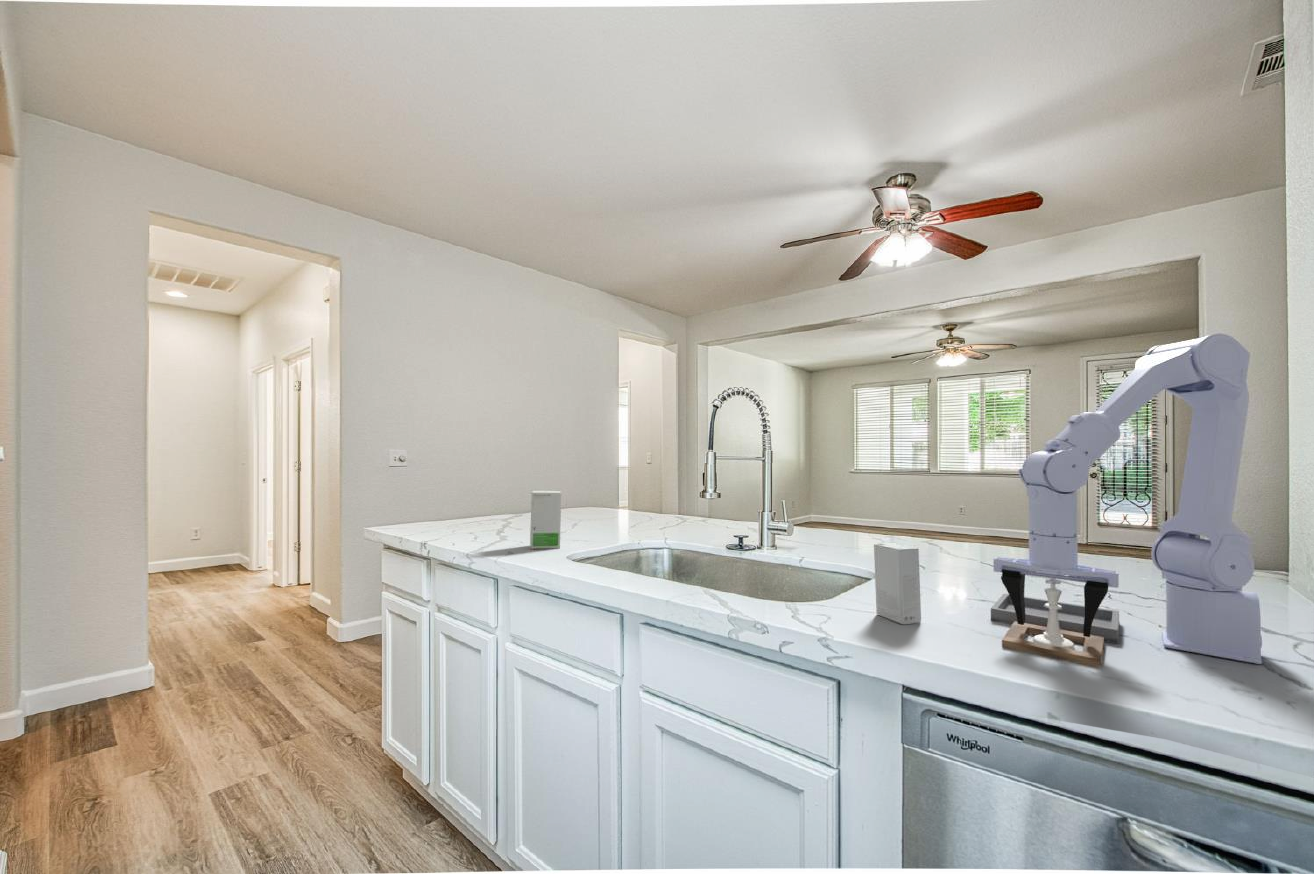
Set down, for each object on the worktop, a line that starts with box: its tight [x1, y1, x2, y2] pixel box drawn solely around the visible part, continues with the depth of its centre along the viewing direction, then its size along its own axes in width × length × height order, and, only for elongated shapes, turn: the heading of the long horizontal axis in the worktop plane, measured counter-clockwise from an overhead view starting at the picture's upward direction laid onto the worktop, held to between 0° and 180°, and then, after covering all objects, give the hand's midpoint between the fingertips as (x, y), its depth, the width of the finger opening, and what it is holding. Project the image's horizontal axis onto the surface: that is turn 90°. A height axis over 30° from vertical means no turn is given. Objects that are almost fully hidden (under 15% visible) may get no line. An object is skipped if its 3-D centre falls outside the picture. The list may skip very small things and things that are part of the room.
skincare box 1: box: [529, 490, 562, 550], centre depth 155 cm, size 8×7×16 cm
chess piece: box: [1032, 578, 1076, 650], centre depth 79 cm, size 5×5×10 cm
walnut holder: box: [1001, 621, 1105, 668], centre depth 79 cm, size 11×11×1 cm
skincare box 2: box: [873, 542, 922, 625], centre depth 92 cm, size 6×4×12 cm
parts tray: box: [990, 593, 1120, 645], centre depth 90 cm, size 16×12×2 cm
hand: (1053, 628), depth 79 cm, fingers open, 7 cm apart
